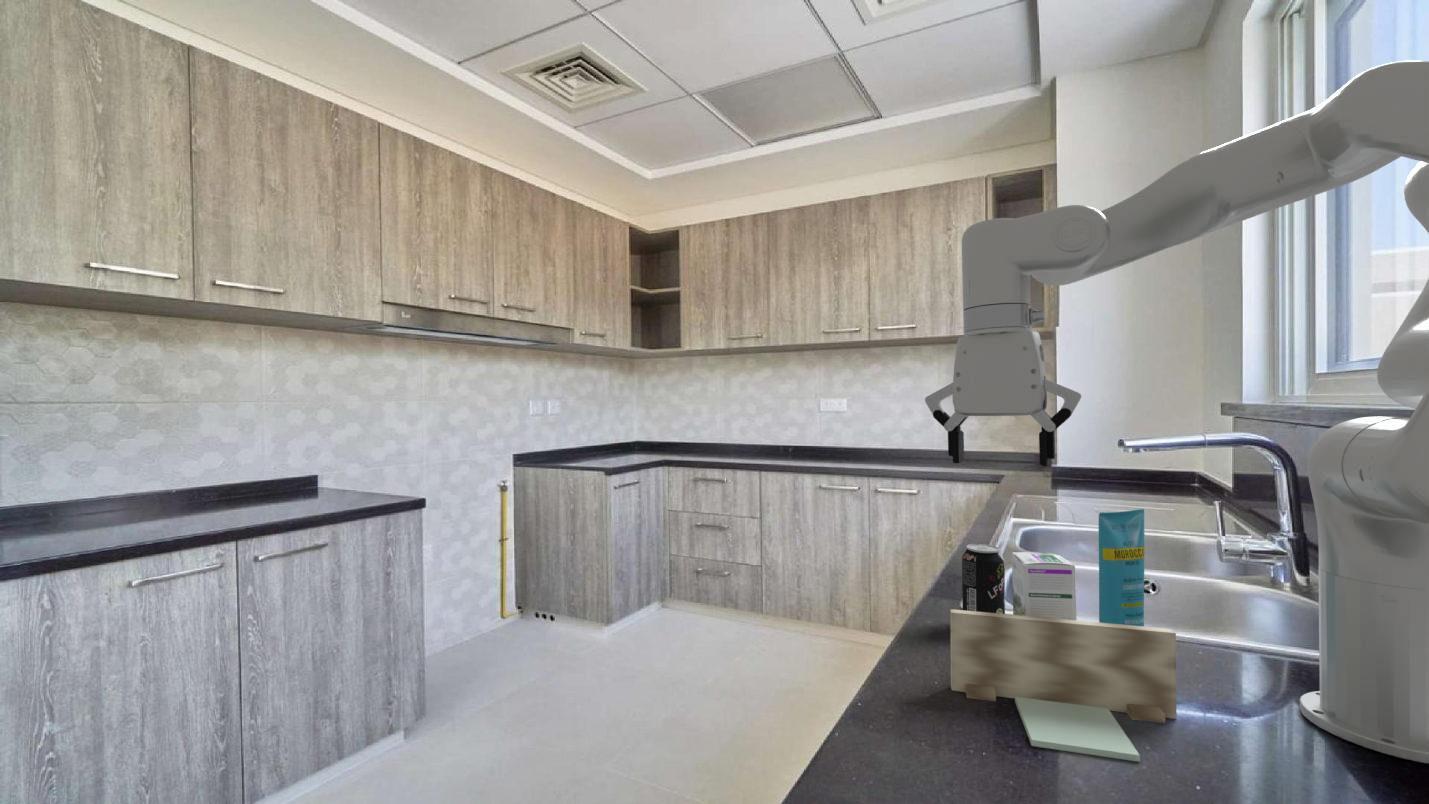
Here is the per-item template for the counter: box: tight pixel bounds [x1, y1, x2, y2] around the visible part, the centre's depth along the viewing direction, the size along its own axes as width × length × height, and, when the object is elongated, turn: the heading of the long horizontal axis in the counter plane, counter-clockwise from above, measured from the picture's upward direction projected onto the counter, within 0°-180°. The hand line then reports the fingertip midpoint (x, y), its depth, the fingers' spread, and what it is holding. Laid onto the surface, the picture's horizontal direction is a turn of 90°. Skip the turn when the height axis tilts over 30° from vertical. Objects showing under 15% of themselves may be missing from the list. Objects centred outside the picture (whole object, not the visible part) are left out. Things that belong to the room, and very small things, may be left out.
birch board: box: [949, 608, 1178, 724], centre depth 67 cm, size 22×4×9 cm, turn 73°
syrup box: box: [1011, 551, 1078, 621], centre depth 73 cm, size 6×6×14 cm
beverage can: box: [961, 543, 1006, 614], centre depth 89 cm, size 6×6×12 cm
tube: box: [1098, 508, 1146, 627], centre depth 79 cm, size 7×5×19 cm, turn 111°
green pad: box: [1014, 697, 1141, 763], centre depth 61 cm, size 9×9×1 cm
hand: (1000, 463), depth 74 cm, fingers open, 9 cm apart
